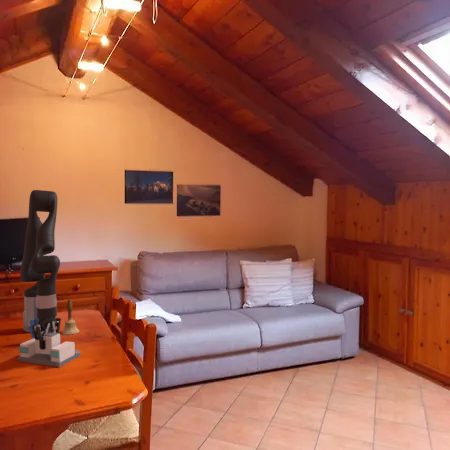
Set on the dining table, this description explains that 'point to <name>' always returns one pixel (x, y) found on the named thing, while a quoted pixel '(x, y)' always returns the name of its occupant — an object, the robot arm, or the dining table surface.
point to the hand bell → (70, 322)
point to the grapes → (32, 323)
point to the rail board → (56, 357)
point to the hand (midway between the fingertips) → (47, 346)
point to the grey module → (48, 343)
